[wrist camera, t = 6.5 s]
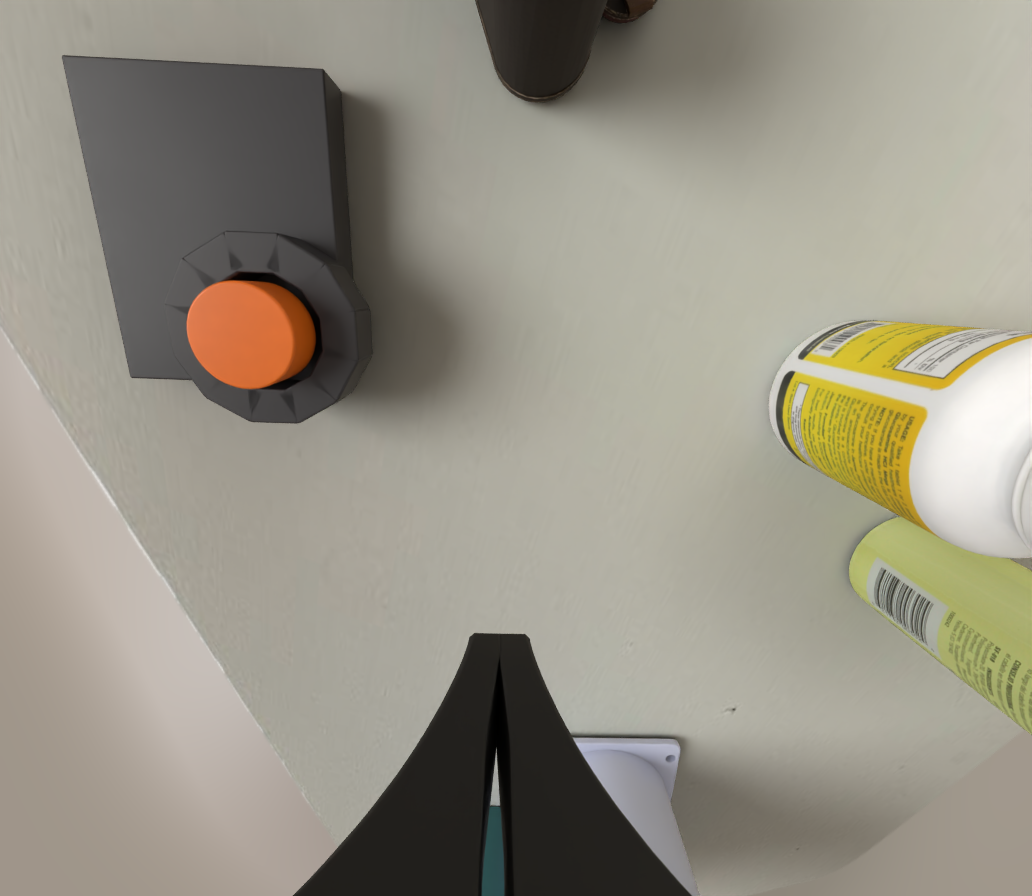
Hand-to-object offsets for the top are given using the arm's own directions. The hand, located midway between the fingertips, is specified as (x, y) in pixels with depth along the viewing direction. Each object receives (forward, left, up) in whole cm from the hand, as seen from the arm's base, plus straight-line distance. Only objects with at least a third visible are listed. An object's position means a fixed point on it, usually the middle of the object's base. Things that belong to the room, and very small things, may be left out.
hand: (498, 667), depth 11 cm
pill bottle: (+5, -14, -11) cm, 18 cm away
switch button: (+7, +8, -7) cm, 13 cm away
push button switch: (+10, +10, -10) cm, 18 cm away
